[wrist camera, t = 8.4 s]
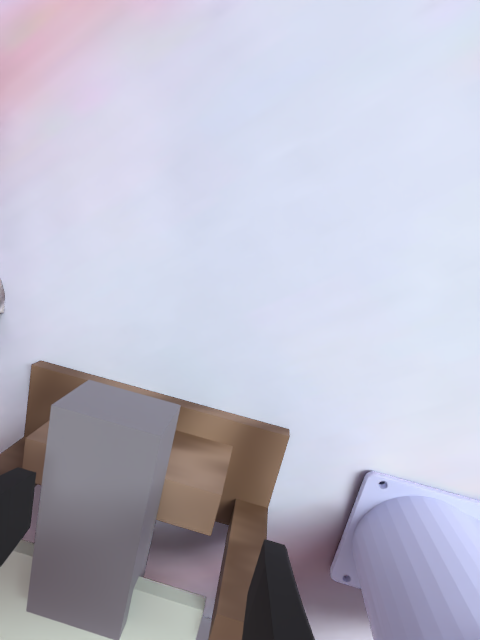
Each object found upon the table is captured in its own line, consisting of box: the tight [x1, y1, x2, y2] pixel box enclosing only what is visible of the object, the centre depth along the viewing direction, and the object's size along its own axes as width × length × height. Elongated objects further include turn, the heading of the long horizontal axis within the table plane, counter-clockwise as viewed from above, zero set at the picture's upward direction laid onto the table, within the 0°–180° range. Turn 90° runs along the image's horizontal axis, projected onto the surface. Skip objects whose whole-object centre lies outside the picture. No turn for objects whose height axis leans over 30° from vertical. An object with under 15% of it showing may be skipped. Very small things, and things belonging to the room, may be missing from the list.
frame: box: [0, 361, 290, 640], centre depth 18 cm, size 16×7×8 cm, turn 76°
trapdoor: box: [0, 380, 206, 640], centre depth 16 cm, size 11×18×3 cm, turn 166°
